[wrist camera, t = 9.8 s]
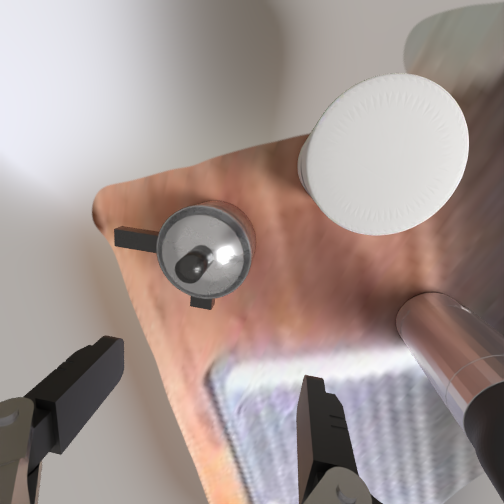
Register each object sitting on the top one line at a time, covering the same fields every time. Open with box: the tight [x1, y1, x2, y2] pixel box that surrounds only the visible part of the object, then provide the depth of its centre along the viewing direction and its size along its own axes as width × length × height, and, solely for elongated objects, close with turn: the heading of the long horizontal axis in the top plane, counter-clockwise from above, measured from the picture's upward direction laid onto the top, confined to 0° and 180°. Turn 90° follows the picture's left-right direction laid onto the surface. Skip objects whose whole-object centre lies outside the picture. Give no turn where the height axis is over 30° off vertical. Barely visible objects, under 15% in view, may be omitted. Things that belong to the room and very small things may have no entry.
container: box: [297, 73, 469, 235], centre depth 27 cm, size 10×10×20 cm
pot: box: [114, 201, 256, 310], centre depth 39 cm, size 19×14×7 cm
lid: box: [162, 214, 244, 295], centre depth 33 cm, size 10×10×6 cm
